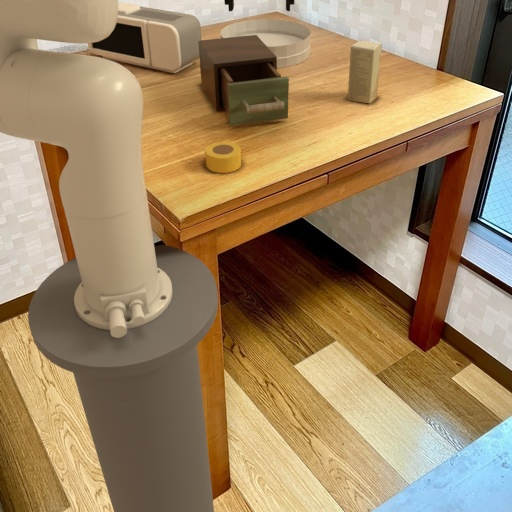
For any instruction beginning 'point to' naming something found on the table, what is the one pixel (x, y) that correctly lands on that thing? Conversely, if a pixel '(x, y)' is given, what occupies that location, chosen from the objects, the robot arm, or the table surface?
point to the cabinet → (229, 60)
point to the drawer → (253, 93)
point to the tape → (223, 157)
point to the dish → (276, 38)
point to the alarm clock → (151, 38)
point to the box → (364, 71)
